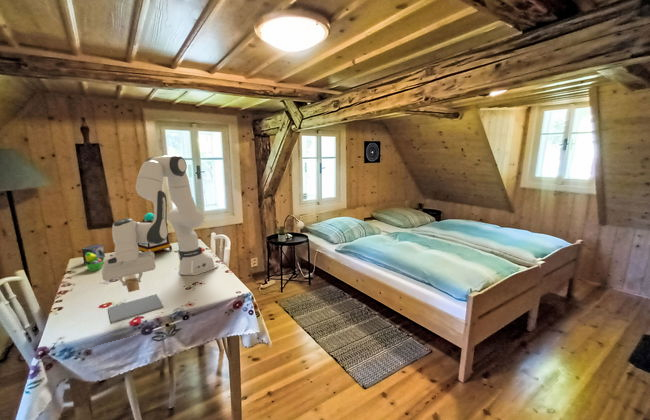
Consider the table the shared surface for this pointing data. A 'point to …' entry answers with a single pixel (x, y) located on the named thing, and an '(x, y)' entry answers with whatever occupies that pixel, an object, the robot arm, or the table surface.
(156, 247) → the decorative lantern
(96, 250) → the small box
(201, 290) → the table surface
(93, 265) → the fruit basket
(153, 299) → the slate mat
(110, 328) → the table surface
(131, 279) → the oak post
